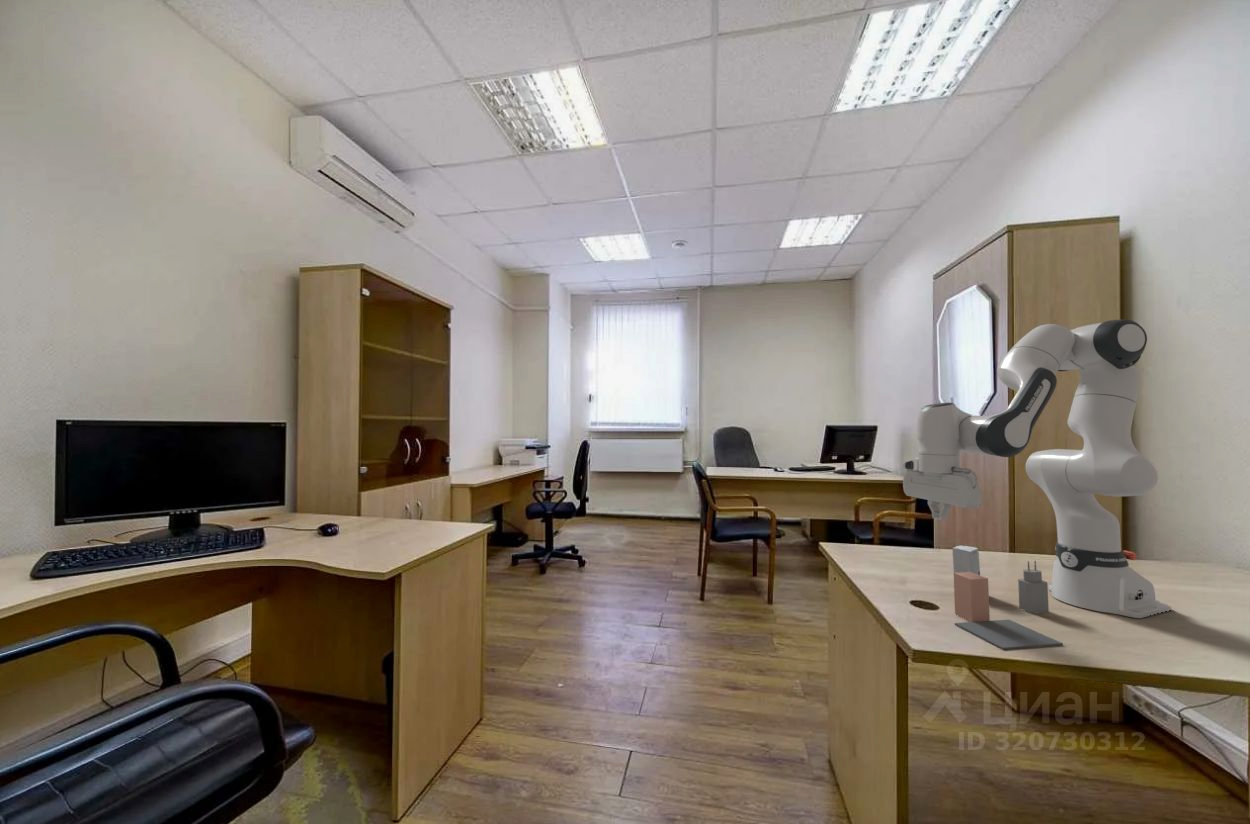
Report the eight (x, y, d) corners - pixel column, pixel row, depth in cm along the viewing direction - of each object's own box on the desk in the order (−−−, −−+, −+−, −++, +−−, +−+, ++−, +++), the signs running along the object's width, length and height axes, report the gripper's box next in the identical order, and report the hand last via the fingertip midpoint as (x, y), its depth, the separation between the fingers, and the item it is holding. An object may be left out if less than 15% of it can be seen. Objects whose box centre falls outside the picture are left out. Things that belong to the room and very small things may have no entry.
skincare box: (973, 598, 112) (971, 551, 113) (953, 592, 116) (951, 547, 117) (982, 592, 116) (980, 548, 116) (962, 587, 120) (960, 544, 120)
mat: (1009, 621, 99) (1009, 619, 99) (1062, 645, 88) (1062, 643, 88) (954, 624, 97) (954, 623, 97) (1002, 649, 86) (1002, 647, 86)
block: (971, 613, 103) (970, 572, 103) (989, 622, 99) (988, 578, 99) (955, 614, 103) (953, 572, 103) (972, 623, 98) (970, 579, 99)
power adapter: (1017, 608, 106) (1015, 559, 107) (1037, 607, 107) (1034, 558, 107) (1030, 613, 103) (1028, 563, 103) (1050, 612, 104) (1048, 562, 104)
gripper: (988, 469, 100) (989, 528, 99) (918, 462, 120) (919, 511, 120) (964, 469, 99) (965, 529, 99) (898, 462, 120) (899, 511, 119)
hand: (939, 519), depth 109 cm, fingers closed
